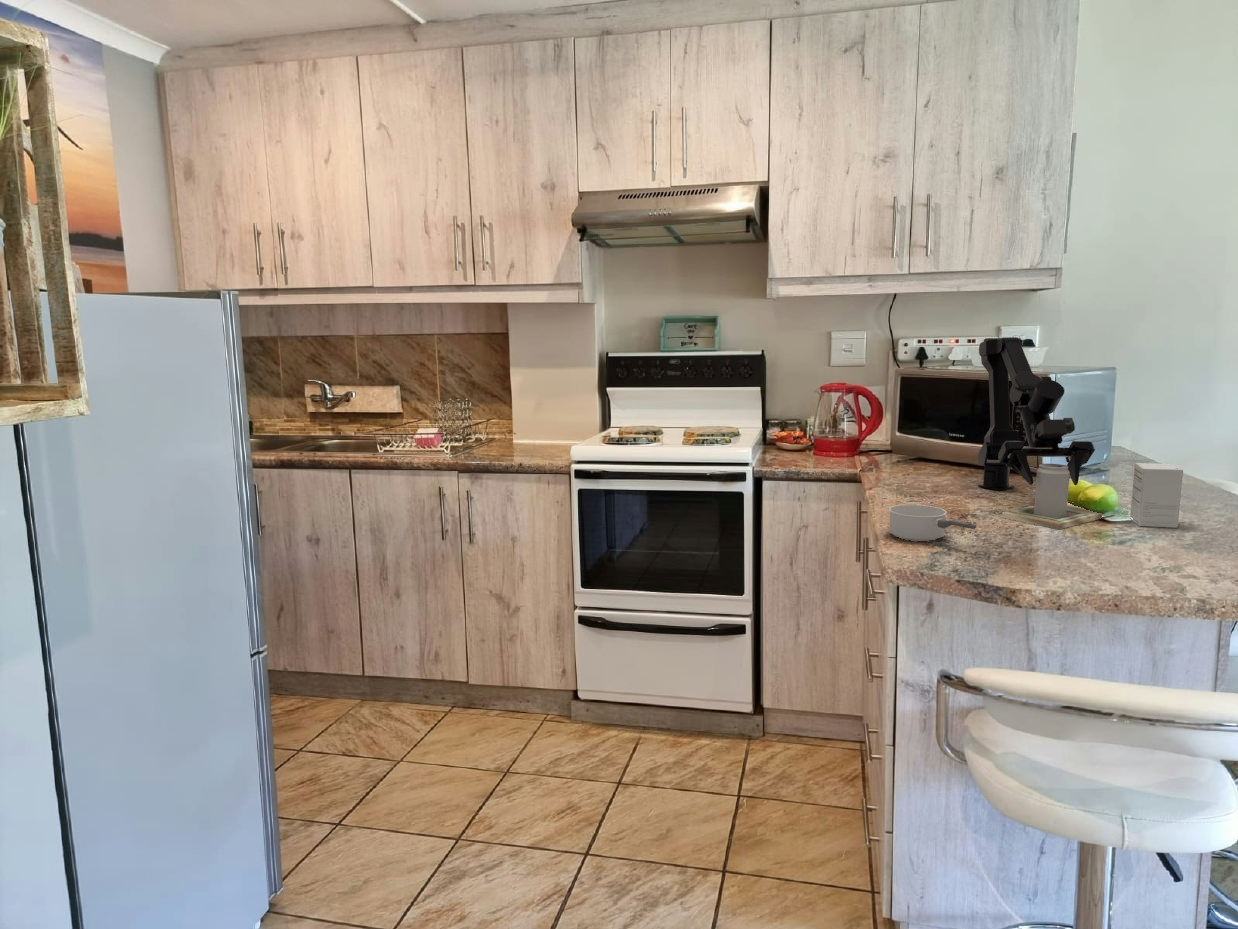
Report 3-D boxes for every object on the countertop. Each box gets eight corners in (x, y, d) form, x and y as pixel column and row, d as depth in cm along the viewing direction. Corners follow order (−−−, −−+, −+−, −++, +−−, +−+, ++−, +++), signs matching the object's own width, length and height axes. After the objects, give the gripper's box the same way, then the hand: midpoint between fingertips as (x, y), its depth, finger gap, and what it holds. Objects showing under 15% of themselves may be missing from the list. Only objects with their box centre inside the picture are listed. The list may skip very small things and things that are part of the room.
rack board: (1057, 505, 194) (1057, 499, 194) (1114, 515, 183) (1114, 509, 183) (1001, 517, 183) (1002, 511, 183) (1058, 529, 172) (1059, 523, 172)
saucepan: (950, 557, 154) (951, 528, 153) (874, 534, 171) (875, 508, 170) (993, 549, 158) (995, 521, 157) (916, 527, 176) (917, 502, 175)
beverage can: (1072, 521, 179) (1077, 467, 177) (1046, 522, 178) (1050, 468, 176) (1052, 514, 185) (1056, 462, 183) (1026, 516, 184) (1030, 463, 182)
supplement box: (1167, 520, 178) (1173, 463, 176) (1178, 528, 171) (1184, 469, 169) (1128, 518, 181) (1134, 462, 178) (1137, 526, 174) (1143, 467, 171)
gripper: (1005, 405, 182) (1020, 462, 173) (1094, 404, 180) (1114, 462, 171) (991, 435, 191) (1005, 491, 182) (1076, 435, 189) (1094, 492, 180)
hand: (1054, 483), depth 179 cm, fingers open, 9 cm apart
